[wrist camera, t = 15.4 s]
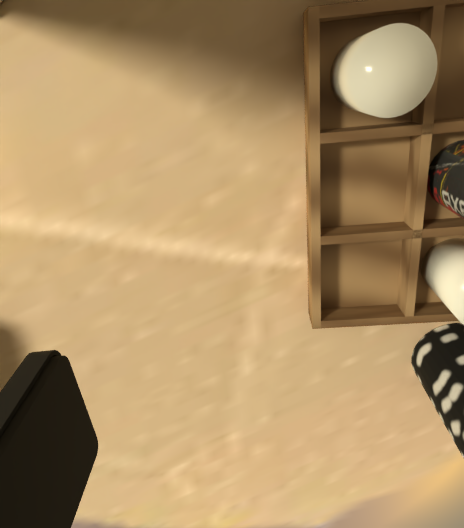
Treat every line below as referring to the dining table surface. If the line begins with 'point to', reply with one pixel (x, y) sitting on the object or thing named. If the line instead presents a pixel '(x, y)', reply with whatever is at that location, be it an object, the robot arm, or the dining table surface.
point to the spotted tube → (444, 375)
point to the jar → (446, 274)
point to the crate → (377, 172)
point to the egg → (385, 71)
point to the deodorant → (448, 178)
